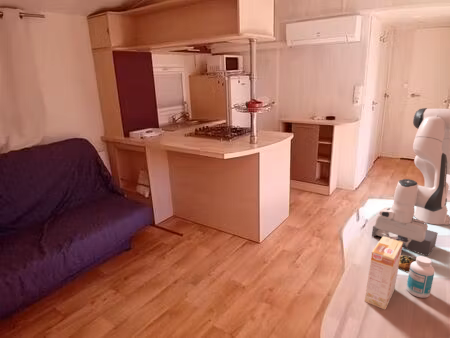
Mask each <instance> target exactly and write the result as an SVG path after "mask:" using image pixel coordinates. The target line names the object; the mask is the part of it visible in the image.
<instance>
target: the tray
mask: <svg viewBox="0 0 450 338" xmlns="http://www.w3.org/2000/svg"><path fill="white" fill-rule="evenodd" d="M376 236H378V237H381V238H382V237H383V236H384V237H386V235H385V231H384V230H381V229H377V228H376V227H375V224H374V225H373V226H372V232H371V237H372V238H374V237H376ZM389 236H391V237H398V235H396V234H393V233H390V232H389Z"/></svg>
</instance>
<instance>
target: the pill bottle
mask: <svg viewBox="0 0 450 338" xmlns="http://www.w3.org/2000/svg"><path fill="white" fill-rule="evenodd" d="M415 259H416V261H414V262H412V263H411V265H410V270H409V272H408V276H407V280H406V282H407V283H406V290H407V292H408V293H409V294H410V295H412V296H414V297H417V298H425V299H426V298H428V297H430V295H431V290H432V286H433V282H434V276H435V267H433V266H432V259H430V258H429V257H426V256H424V255H422V256H421V255H418V256H416V258H415Z"/></svg>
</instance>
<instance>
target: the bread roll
mask: <svg viewBox="0 0 450 338" xmlns="http://www.w3.org/2000/svg"><path fill="white" fill-rule="evenodd" d="M414 261H416V258H414V257H412V256H410V255H406V254H401V256H400V261H399V267H398V270H401V271H404V272H406V271H407V273H409V270H410V265H411V263H412V262H414Z"/></svg>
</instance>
